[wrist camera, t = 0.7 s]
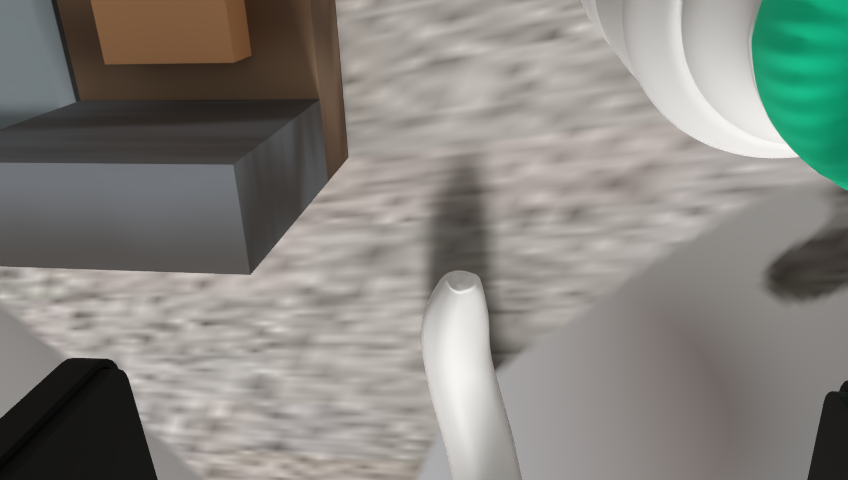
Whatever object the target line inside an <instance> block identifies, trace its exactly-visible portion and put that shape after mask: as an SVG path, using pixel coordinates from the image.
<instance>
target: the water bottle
mask: <svg viewBox="0 0 848 480" xmlns="http://www.w3.org/2000/svg"><path fill="white" fill-rule="evenodd" d="M581 3H582V6H583V8H584V10H585V12H586V14H587V16H588V18H589V19H590V21H591V22H592V24H593V25H594V26H595V27H596V29H597V30H598V31H599V32H600V33H601V35H602V36H603V37H604V38H605V40H606V41H607V42H608V43H609V44H610V45H611V46H612V48H613V49H614V51H615V52H616V54H617V55H618V57H619V58H620V59H621V61H622V62H623V63H624V65H625V66H626V67H627V68H628V70H629V71H630V72H631V73H632V74H633V75H634V76H635V77H636V78H637V79H638V81H639V83H640V85H641V86H642V88H643V90H644V91H645V93H646V94H647V96H648V97H649V99H650V100H651V101H652V103H653V104H654V105H655V106H656V107H657V109H658V110H659V111H660V112H661V113H662V114H663V115H664V116H665V117H666V118H667V119H668V120H670V121H671V122H672V123H673V124H674V125H675V126H677V127H678V128H679V129H681V130H682V131H684V132H685V133H687V134H688V135H690V136H692V137H693V138H695V139H697V140H699V141H701V142H703V143H705V144H707V145H710V146H712V147H715V148H717V149H720V150H724V151H727V152H731V153H735V154H739V155H744V156H751V157H760V158H791V157H800V158H801V159H802V160H804V161H805V162H806V163H807V164H808V165H809V166H811V167H812V168H813V169H814V170H816V171H817V172H818V173H819V174H821V175H823V176H825V177H826V178H828V179H830V180H832V181H833V182H834V183H836V184H837V185H839V186H840V187H842V188H844V189H846V190H847V191H848V0H581Z"/></svg>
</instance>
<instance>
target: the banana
mask: <svg viewBox="0 0 848 480" xmlns="http://www.w3.org/2000/svg"><path fill="white" fill-rule="evenodd" d="M421 342H422V353H423V359H424V366H425V372H426V377H427V382H428V386H429V391H430V395H431V399H432V403H433V406H434V409H435V413H436V416H437V419H438V423H439V426H440V430H441V433H442V437H443V440H444V444H445V448H446V451H447V456H448V459H449V464H450V469H451V474H452V478H453V480H522V477H521V472H520V468H519V463H518V458H517V453H516V449H515V444H514V440H513V436H512V432H511V428H510V424H509V421H508V418H507V414H506V410H505V407H504V404H503V399H502V396H501V392H500V389H499V385H498V381H497V378H496V374H495V371H494V367H493V362H492V356H491V351H490V340H489V316H488V309H487V304H486V299H485V295H484V290H483V286H482V283H481V280H480V278H479V277H478V276H477V275H476V274H474V273H470V272H466V271H461V270H456V271H452V272H449V273H447V274H445V275H444V276H443V277H442V278H441V279H440V281H439V282H438V284H437V285H436V287H435V288H434V290H433V292H432V294H431V296H430V298H429V300H428V303H427V305H426V308H425V311H424V316H423V321H422V331H421Z"/></svg>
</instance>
